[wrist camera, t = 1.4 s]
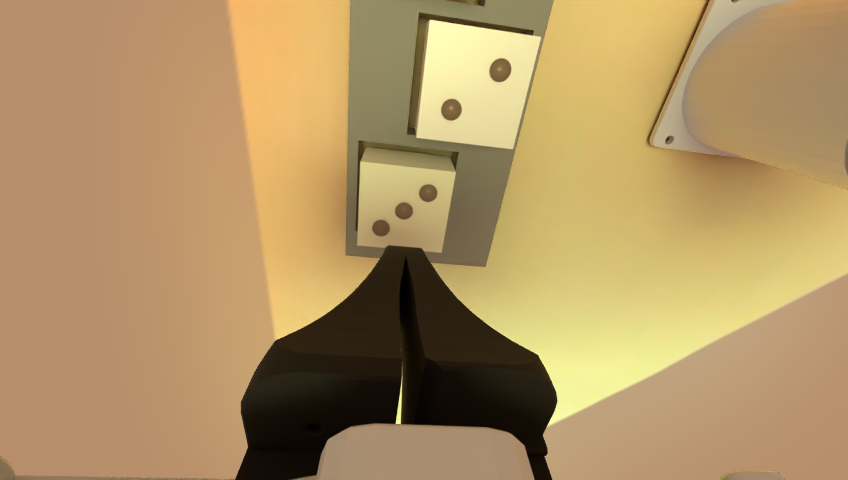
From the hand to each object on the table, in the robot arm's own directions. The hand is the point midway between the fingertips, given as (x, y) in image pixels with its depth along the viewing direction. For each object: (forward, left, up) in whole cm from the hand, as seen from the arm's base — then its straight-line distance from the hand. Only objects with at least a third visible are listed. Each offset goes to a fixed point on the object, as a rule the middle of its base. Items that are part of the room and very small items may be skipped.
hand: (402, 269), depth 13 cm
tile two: (-2, -6, -8) cm, 10 cm away
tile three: (0, 0, -8) cm, 8 cm away
